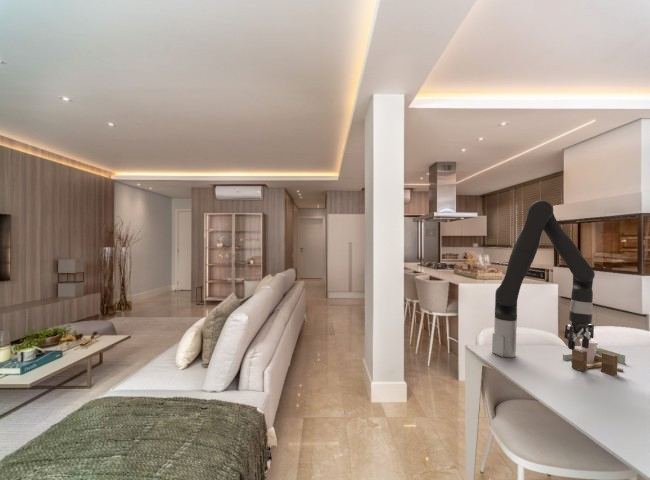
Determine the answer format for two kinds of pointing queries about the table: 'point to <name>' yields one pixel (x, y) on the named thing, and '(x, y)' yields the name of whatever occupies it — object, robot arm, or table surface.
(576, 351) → the wooden mallet
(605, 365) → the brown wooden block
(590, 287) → the robot arm
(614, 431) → the table surface
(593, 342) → the smoothie
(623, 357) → the frame
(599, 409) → the table surface
